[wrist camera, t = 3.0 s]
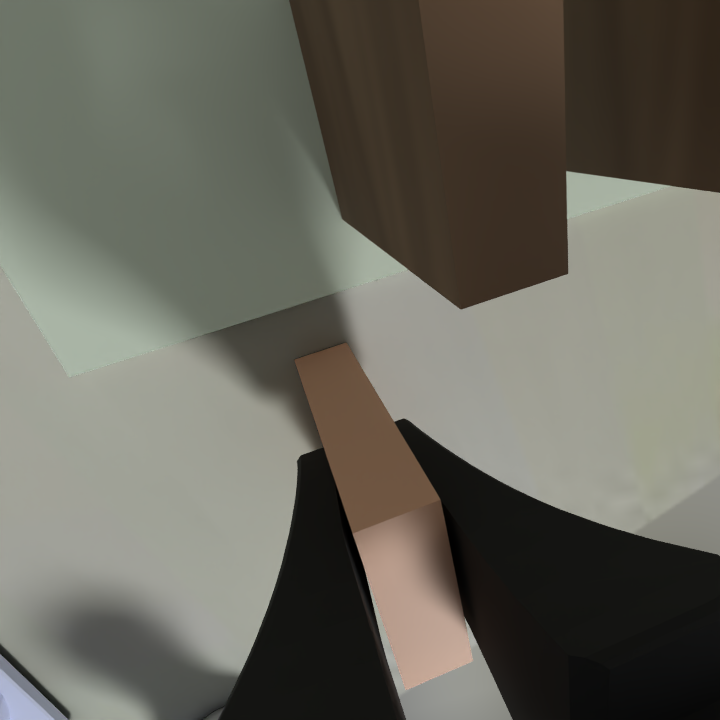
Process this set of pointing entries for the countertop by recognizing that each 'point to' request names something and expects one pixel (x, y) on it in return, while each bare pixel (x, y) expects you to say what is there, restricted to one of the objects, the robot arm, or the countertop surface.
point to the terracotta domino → (389, 517)
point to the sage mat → (173, 174)
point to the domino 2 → (643, 90)
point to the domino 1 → (446, 134)
